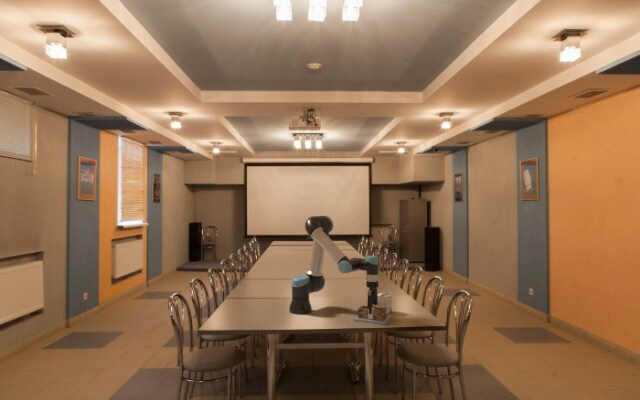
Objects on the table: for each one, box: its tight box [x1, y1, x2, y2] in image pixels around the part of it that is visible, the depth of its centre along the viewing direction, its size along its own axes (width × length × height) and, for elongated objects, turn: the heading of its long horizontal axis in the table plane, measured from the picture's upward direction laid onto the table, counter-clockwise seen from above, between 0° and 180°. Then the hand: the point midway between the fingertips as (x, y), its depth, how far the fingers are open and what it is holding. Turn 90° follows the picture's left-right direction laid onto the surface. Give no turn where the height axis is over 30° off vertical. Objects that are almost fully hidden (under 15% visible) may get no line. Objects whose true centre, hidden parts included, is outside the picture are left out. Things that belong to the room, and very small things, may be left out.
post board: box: [353, 308, 391, 325], centre depth 266 cm, size 20×14×7 cm
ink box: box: [377, 291, 393, 315], centre depth 284 cm, size 9×8×13 cm
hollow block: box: [357, 305, 387, 321], centre depth 266 cm, size 16×8×6 cm, turn 67°
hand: (372, 316), depth 266 cm, fingers closed on hollow block, 8 cm apart
